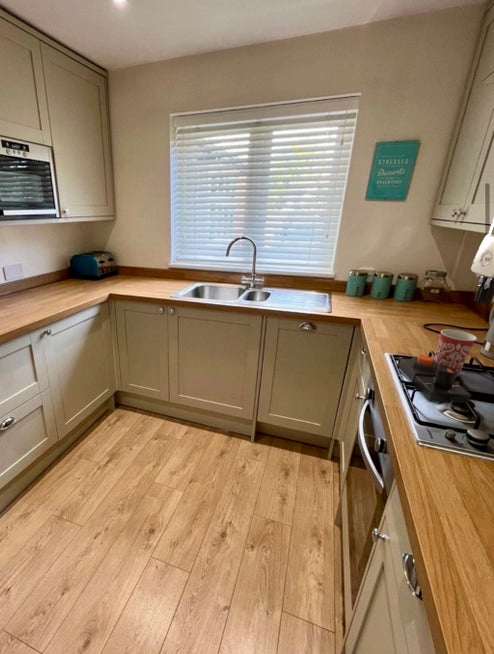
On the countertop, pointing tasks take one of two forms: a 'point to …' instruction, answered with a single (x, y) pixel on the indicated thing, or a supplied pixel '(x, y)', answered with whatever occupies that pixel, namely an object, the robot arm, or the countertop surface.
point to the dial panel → (439, 390)
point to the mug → (454, 349)
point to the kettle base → (417, 368)
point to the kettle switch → (425, 360)
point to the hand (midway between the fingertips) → (482, 301)
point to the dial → (445, 377)
